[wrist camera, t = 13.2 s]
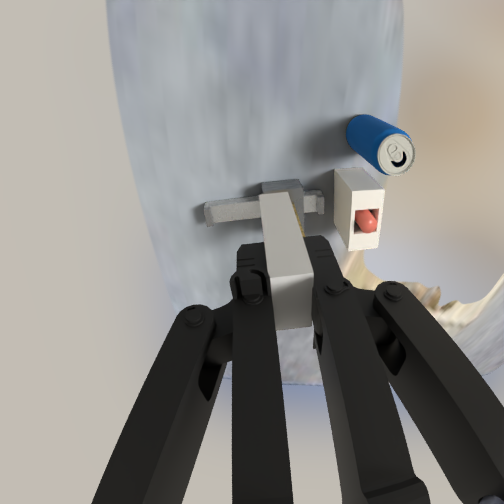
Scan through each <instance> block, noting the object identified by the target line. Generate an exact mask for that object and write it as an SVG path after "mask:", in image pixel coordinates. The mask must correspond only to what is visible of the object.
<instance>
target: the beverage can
mask: <svg viewBox="0 0 504 504" xmlns="http://www.w3.org/2000/svg"><path fill="white" fill-rule="evenodd" d="M346 138H347V142H348V144H349V145H350V147H351V148H352V149H353V150H355V151H356V152H357V153H358V154H359V155H361V156H362V157H363V158H364V159H365V160H367V161H368V162H369V163H370V164H371V165H372V166H373V167H375V168H376V169H377V170H378V171H379V172H381V173H383V174H385V175H392V176H399V175H402V174H404V173H406V172H407V171H408V170H409V169H410V168H411V167H412V165H413V163H414V160H415V155H416V152H415V147H414V144H413V143H412V140H411V139H410V137H409V136H408V135H407V133H405V132H404V131H402V130H401V129H399V128H397V127H394V126H392V125H390V124H388V123H386V122H384V121H382V120H380V119H378V118H375V117H373V116H371V115H359V116H357V117H355V118H353V119H352V120H351V121H350V123H349V124H348V126H347V130H346Z"/></svg>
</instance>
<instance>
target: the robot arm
mask: <svg viewBox="0 0 504 504" xmlns="http://www.w3.org/2000/svg"><path fill="white" fill-rule="evenodd" d="M259 201H260V210H261V219H262V228H263V237H264V242H261V243H252V244H243V245H241V247H240V248H239V250H238V251H237V271H236V272H235V273H234V274H233V275H232V276H231V278H230V281H229V282H230V287H231V291H232V296H233V299H232V300H231V301H230V302H229V303H228V304H226V305H224V306H222V307H220V308H217V309H214V310H211V309H210V308H208V307H207V306H204V305H201V304H199V305H191V306H188V307H186V308H184V309H183V310H181V311H180V313H179V314H178V315H177V317H176V319H175V321H174V323H173V325H172V327H171V329H170V331H169V333H168V335H167V337H166V339H165V341H164V343H163V345H162V347H161V349H160V351H159V353H158V355H157V357H156V359H155V361H154V363H153V365H152V367H151V369H150V372H149V374H148V376H147V378H146V380H145V382H144V384H143V386H142V388H141V391H140V393H139V395H138V397H137V399H136V402H135V404H134V406H133V408H132V410H131V412H130V414H129V417H128V419H127V421H126V423H125V426H124V428H123V430H122V433H121V435H120V437H119V439H118V442H117V444H116V446H115V448H114V451H113V453H112V455H111V457H110V460H109V462H108V465H107V467H106V469H105V472H104V474H103V476H102V479H101V481H100V484H99V486H98V489H97V491H96V493H95V496H94V498H93V501H92V503H91V504H182V501H183V498H184V495H185V492H186V489H187V486H188V483H189V480H190V477H191V474H192V471H193V468H194V465H195V461H196V459H197V455H198V453H199V449H200V446H201V443H202V440H203V437H204V434H205V431H206V428H207V425H208V421H209V418H210V416H211V412H212V409H213V406H214V403H215V399H216V397H217V394H218V391H219V387H220V384H221V381H222V378H223V375H224V372H225V369H226V365H227V362H229V361H232V504H293V492H292V481H291V470H290V460H289V449H288V440H287V429H286V419H285V410H284V400H283V391H282V381H281V372H280V363H279V354H278V345H277V336H276V331H277V330H286V329H294V328H302V327H310V326H312V320H313V325H314V340H313V349H316V350H317V355H318V360H319V365H320V370H321V375H322V380H323V385H324V390H325V396H326V401H327V407H328V412H329V418H330V423H331V429H332V435H333V441H334V447H335V453H336V459H337V465H338V472H339V479H340V486H341V492H342V504H430V498H429V494H428V490H427V487H426V486H425V484H424V482H423V481H422V480H420V479H419V478H418V477H416V475H415V474H414V470H413V467H412V463H411V459H410V454H409V451H408V447H407V443H406V439H405V435H404V433H403V428H402V425H401V421H400V418H399V414H398V411H397V408H396V404H395V401H394V398H393V395H392V392H391V388H390V385H389V383H390V384H391V386H392V387H393V389H394V391H395V392H396V394H397V395H398V397H399V398H400V400H401V402H402V403H403V405H404V407H405V408H406V410H407V411H408V413H409V415H410V416H411V418H412V420H413V421H414V423H415V424H416V426H417V428H418V429H419V431H420V433H421V434H422V436H423V438H424V439H425V441H426V443H427V444H428V446H429V448H430V449H431V451H432V453H433V455H434V456H435V458H436V460H437V462H438V463H439V465H440V467H441V469H442V470H443V472H444V474H445V476H446V477H447V479H448V481H449V483H450V485H451V486H452V488H453V490H454V492H455V493H456V494H457V496H458V498H459V499H460V500H461V501H462V503H463V504H504V407H503V405H502V404H501V403H500V401H499V400H498V398H497V397H496V396H495V394H494V393H493V391H492V390H491V389H490V387H489V386H488V384H487V383H486V382H485V380H484V379H483V378H482V376H481V375H480V374H479V372H478V371H477V370H476V368H475V367H474V366H473V364H472V363H471V362H470V361H469V359H468V358H467V357H466V356H465V354H464V353H463V352H462V351H461V349H460V348H459V347H458V346H457V344H456V343H455V342H454V341H453V340H452V338H451V337H450V336H449V335H448V334H447V332H446V331H445V330H444V329H443V328H442V326H441V325H440V324H439V323H438V322H437V321H436V319H435V318H434V317H433V316H432V315H431V314H430V313H429V311H428V310H427V309H426V308H425V307H424V306H423V305H422V304H421V303H420V301H419V300H418V299H417V298H416V297H415V296H414V295H413V294H412V293H411V292H410V291H409V289H408V288H407V287H405V286H404V285H403V284H401V283H398V282H395V281H386V282H382V283H381V284H379V285H378V286H377V288H376V289H375V291H373V290H364V289H358V288H356V287H353V285H352V284H351V282H350V281H349V280H347V279H346V278H344V277H343V275H342V272H341V270H340V267H339V265H338V263H337V260H336V258H335V256H334V253H333V251H332V248H331V246H330V244H329V241H328V240H326V239H325V238H324V237H323V236H321V235H318V236H309V237H302V233H301V230H300V227H299V224H298V221H297V218H296V215H295V212H294V209H293V206H292V203H291V200H290V197H289V194H288V192H280V193H271V194H261V195H259ZM388 381H389V382H388Z"/></svg>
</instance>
